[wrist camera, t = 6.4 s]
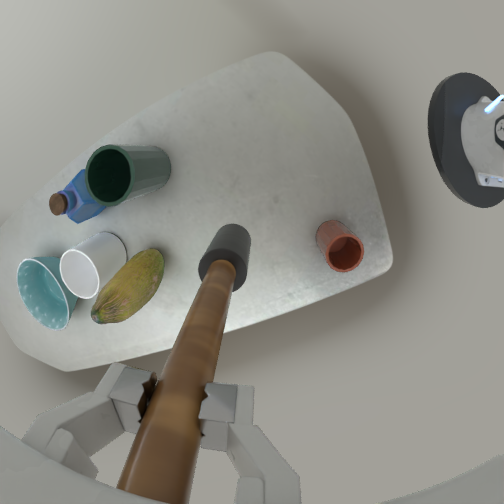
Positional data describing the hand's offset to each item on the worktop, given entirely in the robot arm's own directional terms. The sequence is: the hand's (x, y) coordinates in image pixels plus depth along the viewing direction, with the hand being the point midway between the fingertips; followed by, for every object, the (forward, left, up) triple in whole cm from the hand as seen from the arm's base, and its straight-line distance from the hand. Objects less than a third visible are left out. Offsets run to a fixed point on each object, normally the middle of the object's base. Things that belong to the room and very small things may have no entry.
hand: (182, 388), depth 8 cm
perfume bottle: (+26, 0, -36) cm, 45 cm away
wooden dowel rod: (0, 0, -17) cm, 17 cm away
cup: (+16, -4, -36) cm, 40 cm away
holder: (-14, +4, -36) cm, 39 cm away
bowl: (+38, +19, -36) cm, 56 cm away
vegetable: (+14, +11, -36) cm, 40 cm away
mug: (+26, +12, -36) cm, 46 cm away
